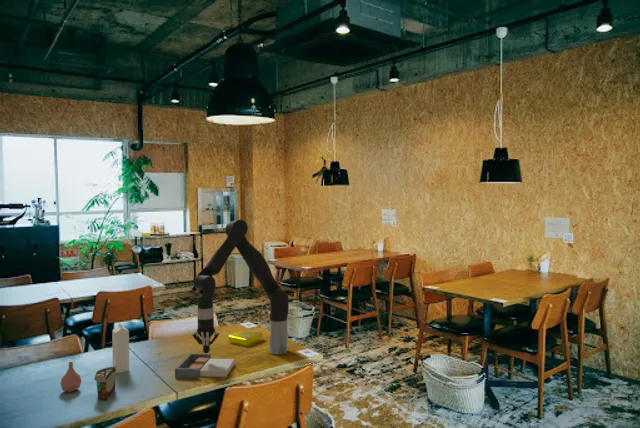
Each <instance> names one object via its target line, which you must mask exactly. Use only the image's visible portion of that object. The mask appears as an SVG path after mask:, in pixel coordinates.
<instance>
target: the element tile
mask: <svg viewBox="0 0 640 428" xmlns="http://www.w3.org/2000/svg"><path fill="white" fill-rule="evenodd" d="M227 340H228V343H229V344H233V345H237V346H241V347H250V346H253V345H256V344H257V343H259V342H263V341H264V333H263V332H260V331H254V330H249V329H241V330H239V331H235V332H234V333H230V334H228V336H227Z"/></svg>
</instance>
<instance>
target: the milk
mask: <svg viewBox="0 0 640 428" xmlns="http://www.w3.org/2000/svg"><path fill="white" fill-rule="evenodd" d="M111 332H112V333H111V334H112V338H111V339H112V341H111V343H112V344H111V345H112V347H111V348H112V367H116V374H120V373H124V372H129V371H130V334H129V333H130V331H129V329H127V328H126V327H124V326H123V324H122V323H120V322H118V325H117V326H116V327H115V328H113V329H112V331H111Z"/></svg>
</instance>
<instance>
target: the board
mask: <svg viewBox="0 0 640 428" xmlns="http://www.w3.org/2000/svg"><path fill="white" fill-rule="evenodd" d="M234 366H235V358H211V359H209V360H208V362H207V363H206V364H205V365H204V367H203V368H202V369H201V370H200V376H199V377H223V378H224V377H225V378H227V377H228V375H229V374H230V372H231V370H232V368H233V367H234Z"/></svg>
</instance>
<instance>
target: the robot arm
mask: <svg viewBox="0 0 640 428" xmlns="http://www.w3.org/2000/svg"><path fill="white" fill-rule="evenodd" d="M224 227H225V229H224V230H225V234H226V236H227V237H226V238H225V240H224V241H223V243H222V244H221V245H220V246H219V247H218V249H216V251H214V253H213V255H211V257H210V259H209V261H208V263H207V265H206V266H204V267H203V268H202V270H201V271H200V272H199V273H198V274H197V275H196V276H195V278H194V284H193V285H194V287H195V288H196V289H198V290H201V291H202V294H200V295H199V296H198V297H197V313H196V314H197V315H196V316H197V329H196V332H194V333H193V334H192V337H193V339H194V340H195V341H196V342H197V344H199V345H202V353H203V354H209V352H210V350H211V348H210V345H213V343H215V342H216V340H217V338H218V337H219V336H220V332H217V331H216V329H215V322H214V321H215V320H214V319H215V317H214V315H215V313H214V311H215V310H214V296H215V291H216V285H217V284H216V279H215V278H214V276H216V275H218V274H220V273H221V272H222V268H223V267H224V265H225V264H226V262H227V261H228V259H229V257H230V255H231V254H232V253H233V251H234V250H235V248H236V250H237V251H238V253H239V254H240V255H241V257H242V259H243V260H244V262H245V263H246V265H247V267H248V269H249V271H251V273H252V274H253V276H254V278H256V280H257V281H258V283H259V284H260V285H261V287H262V288H263V289H264V292H265V294H266V297H267V298H268V300H269V302H270V314H269V353H270V354H271V355H275V356H276V355H277V356H279V355H286V354H288V350H289V334H288V315H289V305H290V303H289V301H290V300H289V299H290V298H289V295H288V293H287V292H286V291H285V290H284V289H283V288H282V287H281V286H280V285H279V283H278V282H277V280H276V279H275V278H274V276H273V273H272V270H271V268H270V265H269V264H268V262H267V260H266V258H265V257H264V256H263V254H262V253H261V251H259V250H258V249H257V248H255V247H254V246H253V244H251V243H250V242H249V240H248V239H247V237H246V235H247V233H248V230H249V225H248V224H247V222H246V221H245V220H243V219H236V220H232V221H229V222H228V223H226V225H225V226H224ZM212 336H213V337H212ZM211 338H212V339H211Z"/></svg>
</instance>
